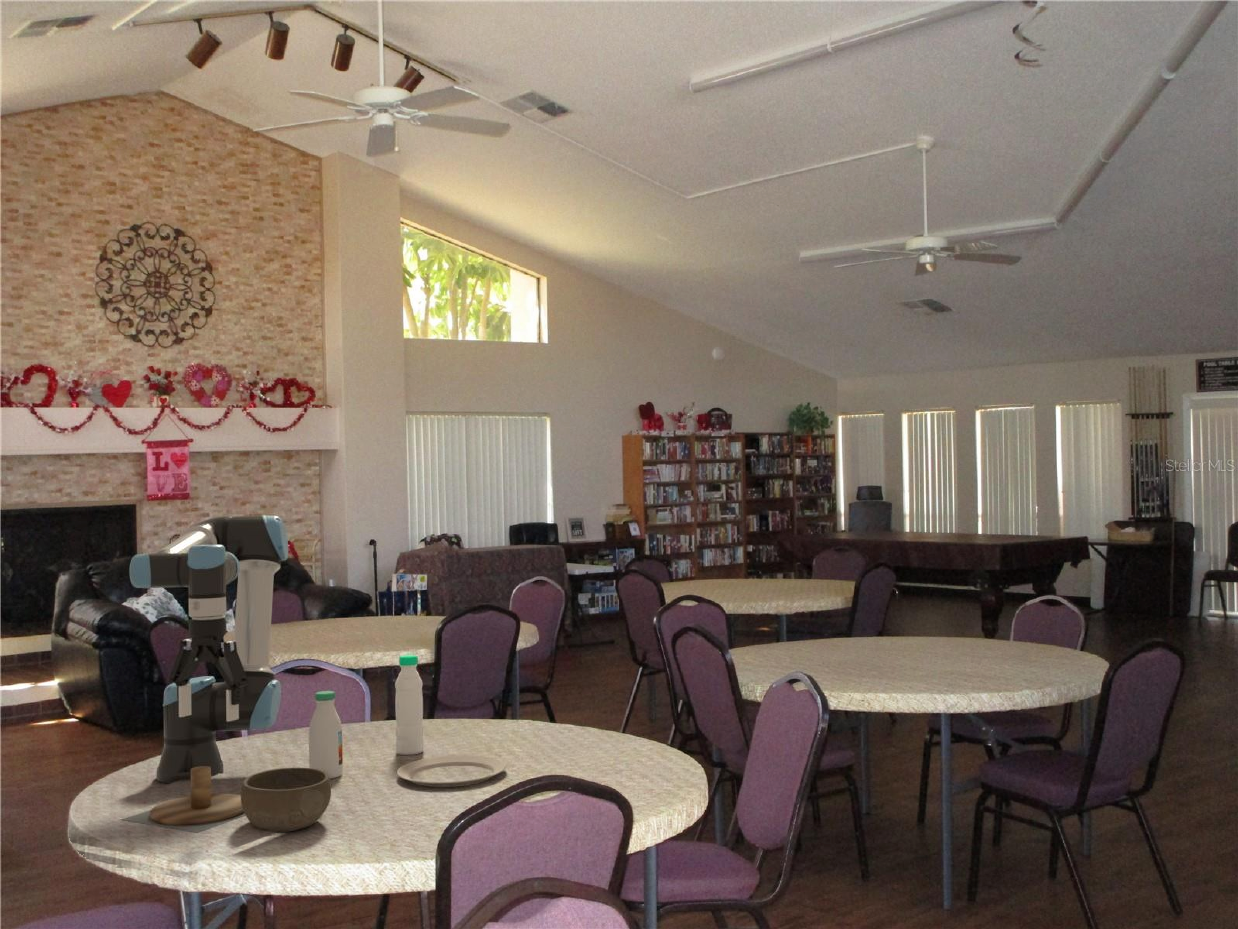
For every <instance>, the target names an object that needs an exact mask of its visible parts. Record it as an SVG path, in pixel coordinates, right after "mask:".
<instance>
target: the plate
mask: <svg viewBox="0 0 1238 929" xmlns="http://www.w3.org/2000/svg"><path fill="white" fill-rule="evenodd" d="M452 766H453V767H455V766H456V767H457V766H466V767H467V766H469V767H478V768H483V769H486V770H489V771H490V772H491V773H492V774H490V775H488V776H484V777H480V778H475V779H469V780H461V781H459V780H458V781H444V782H437V781H436V782H435V781H433V782H432V781H430V782H429V781H421V780H420V781H419V780H414V779H412V776H413V775H415V774H417V773H419V772H423V771H426V770H430V769H434V768H435V769H436V768H441V767H452ZM505 769H506V763H505V762H504V761H502V760H500V759H498V758H494V757H490V756H483V755H471V754H469V755H468V754H465V755H463V754H462V755H461V754H458V755H441V756H432V757H429V758H423V759H418V760H414V761H411V762H408V763H406V764H404V765H402V766H400V767H399V768H398V769H397V772H396V774H397V776H398V777H399V778H401V779H403V780H406V781H409V782H411V783H413V784H415V785H419V786H422V787H424V786H425V787H431V788H452V787H453V788H454V787H462V786H463V787H464V786H468V785H469V786H470V785H475V784H479V783H481V782H482V783H483V782H485V781H487V780H489V779H491V778H492V777H494V776H496V775H498V774H501V773H502V772H503V771H504V770H505Z"/></svg>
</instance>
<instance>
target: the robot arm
mask: <svg viewBox="0 0 1238 929" xmlns="http://www.w3.org/2000/svg"><path fill="white" fill-rule="evenodd" d="M286 530H287V529H286V526H285V523H284V521H283V519H282V518H281V517H279V516H277V515H265V514H262V515H232V516H231V515H230V516H229V515H224V516H216V517H212V518H209V519H205V520H203V521H199V522H198V523H197V522H196V523H195V524H193V525H190V526H188V527H187V528H185V529H184V530H183V531H182V532H181V533H180V535H179V536H178V538H177V539H176V540H174V541H173V542H171V543H169V544H168V545H166V546H164V547H163V548H161V549H160V550H158V551H157V552H155V553H148V552H146V553H141V554H140V553H139V554H135V555H134V556H132V558H131V561H130V564H129V572H128V574H129V579H130V583H131V585H132V586H133V587H134V588H136V589H140V588H141V589H148V590H150V589H156V588H157V589H158V588H160V589H161V588H188V617H190V618H191V619H189V620H188V636H189V637H190V638H185V639H181V640H180V641H179V650H178V652H177V656H176V658H175V662H174V664H173V666H172V670H171V673H170V675H169V677H168V678H169V679H168V680H169V682H170V683H171V684H169V685H166V687H165V689H164V692H163V703H162V707H163V749H162V752H161V756H160V759H159V764H158V766H157V768H156V772H155V773H156V781H157V782H159V783H162V784H169V785H171V784H173V783H177V782H180V781H191V769H192V768H194V767H199V766H209V767H211V777H212V776H215V775H218V774H221V775H222V774H224V761H223V759H222V757H221V754H220V750H219V747H218V744H217V742H216V732H233V731H234V732H236V731H252V732H253V731H255V730H256V731H257V730H266V729H269V728H271V727H272V726H273V725H274V723H275V721H276V719H277V717H278V714H279V710H280V705H281V700H282V685H281V684H282V683H281V682H280V681H279V680H277V679H275V677H276V676H275V672H274V671H273V670H272V669H271V668H270V667H269V665H270V664H269V663H270V651H271V650H270V649H271V647H270V645H271V635H272V634H271V633H272V631H271V629H272V617H273V616H272V615H273V614H272V613H273V599H274V598H273V594H274V576H275V574H276V573H277V572H278V571H279V570H281V564H282V562H284V561H287V560H288V558H289V543H288V535H287V531H286ZM236 579H237V588H236V590H237V591H236V605H235V606H236V607H235V618H234V619H235V622H234V636H233V640H230V641H225V639H224V638H225V635H227V619H226V617H225V616H226V614H227V586H228V585H230V584H232V582H234V581H235V580H236ZM203 662H206V663H212V665H214V666H215V667H216V668H217V670H218V672H219V673H220V675H221V677H222V679H223V680H224V681H223V682H221V681H220V682H216V679H215V676H212V675H209V676H207V675H206V676H205V675H204V676H198V677H193V676H194V674H195V672H196V671H197V669H198V667H199V666H200V664H201V663H203Z"/></svg>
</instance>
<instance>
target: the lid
mask: <svg viewBox="0 0 1238 929" xmlns="http://www.w3.org/2000/svg"><path fill="white" fill-rule="evenodd" d="M150 810H151V811H150V820H151V821H153V822H155V823H158V824H163V825H172V826H187V825H200V824H208V823H214V822H219V821H223V820H227V819H231V818H234V817H237V816H239V815H241V814H244V811H243V808H242V804H241V794H237V793H236V794H235V793H212V776H211V767H209V766H199V767H194V768H192V769H191V780H190V796H184V797H179V798H175V799H174V798H173V799H170V800H167V801H164V802H162V803H160V804H157V805H155V806H154V807H153V808H151V809H150Z"/></svg>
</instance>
